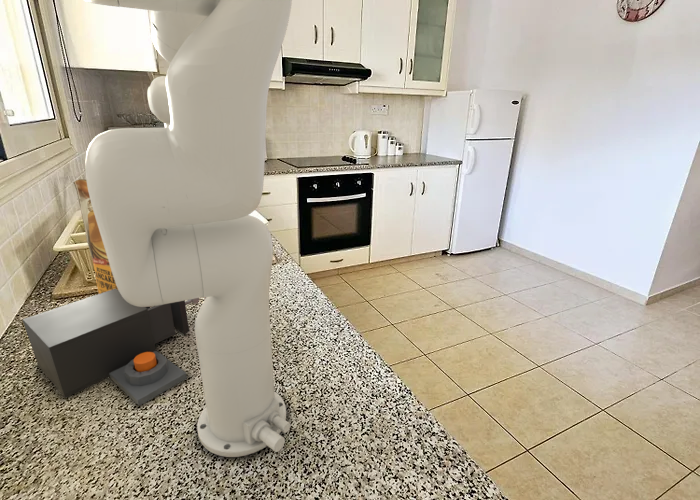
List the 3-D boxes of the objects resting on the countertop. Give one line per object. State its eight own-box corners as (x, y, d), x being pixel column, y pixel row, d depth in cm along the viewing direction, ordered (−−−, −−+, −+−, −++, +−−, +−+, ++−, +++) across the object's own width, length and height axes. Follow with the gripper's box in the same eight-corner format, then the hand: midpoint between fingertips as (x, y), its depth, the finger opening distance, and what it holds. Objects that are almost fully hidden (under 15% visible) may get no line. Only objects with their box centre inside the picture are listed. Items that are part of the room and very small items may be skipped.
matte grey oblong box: (125, 329, 77) (115, 288, 73) (156, 353, 70) (147, 308, 66) (38, 366, 66) (22, 319, 62) (65, 398, 59) (48, 347, 55)
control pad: (187, 378, 64) (184, 364, 63) (139, 406, 58) (135, 390, 57) (157, 355, 69) (154, 342, 68) (110, 378, 63) (106, 364, 62)
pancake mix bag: (114, 287, 94) (87, 176, 84) (168, 304, 87) (147, 184, 77) (86, 299, 88) (55, 181, 78) (143, 318, 81) (116, 191, 71)
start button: (160, 365, 63) (158, 356, 62) (141, 375, 60) (139, 366, 60) (150, 357, 65) (149, 349, 64) (131, 367, 62) (129, 358, 62)
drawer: (178, 305, 85) (173, 274, 82) (208, 322, 78) (204, 289, 76) (91, 341, 71) (81, 305, 69) (118, 365, 65) (108, 327, 62)
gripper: (155, 155, 64) (171, 253, 70) (238, 148, 77) (245, 231, 83) (134, 151, 68) (151, 244, 74) (216, 145, 81) (224, 224, 87)
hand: (200, 236), depth 79 cm, fingers open, 6 cm apart
